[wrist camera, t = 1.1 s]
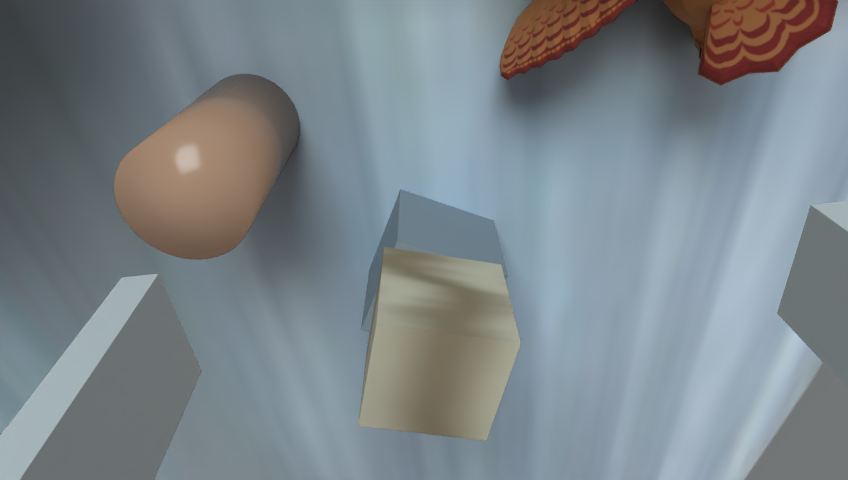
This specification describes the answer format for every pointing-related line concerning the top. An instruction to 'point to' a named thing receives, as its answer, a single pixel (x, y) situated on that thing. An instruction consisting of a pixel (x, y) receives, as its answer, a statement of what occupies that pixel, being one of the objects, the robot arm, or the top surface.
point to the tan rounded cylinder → (208, 168)
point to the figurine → (693, 4)
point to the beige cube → (438, 346)
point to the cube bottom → (432, 238)
